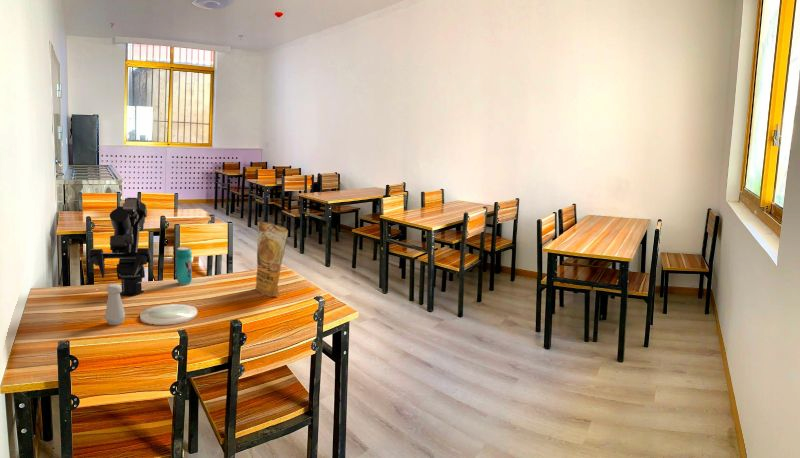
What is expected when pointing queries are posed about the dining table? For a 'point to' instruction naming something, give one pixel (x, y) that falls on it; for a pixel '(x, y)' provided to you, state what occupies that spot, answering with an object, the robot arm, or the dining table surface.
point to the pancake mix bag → (269, 257)
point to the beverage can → (184, 265)
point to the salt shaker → (114, 305)
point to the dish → (168, 314)
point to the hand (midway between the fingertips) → (118, 277)
